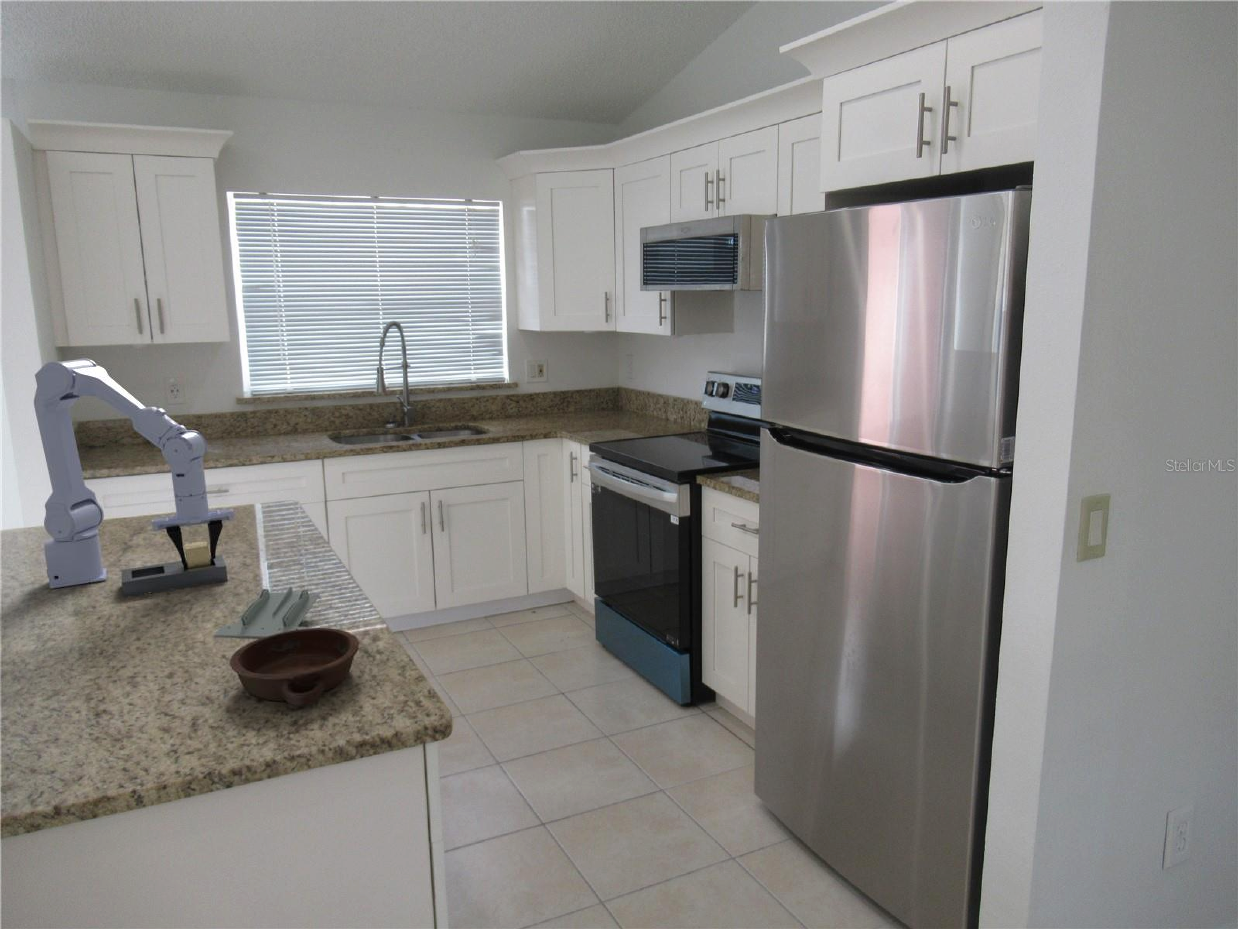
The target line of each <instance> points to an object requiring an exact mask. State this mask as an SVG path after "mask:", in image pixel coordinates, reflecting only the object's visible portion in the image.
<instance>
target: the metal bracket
mask: <svg viewBox="0 0 1238 929" xmlns="http://www.w3.org/2000/svg"><path fill="white" fill-rule="evenodd" d="M320 596H321V595H320V593H309V591H308V589H302V590H301V591H300V593H297V592H294V591H293V587H292V586H290V587H288V588H287V591H286V592H270V590H269V589H268V588H263V589H262V590H261V592H260V593H259V594H258V595H257V597H256V598H255V599H254V600H253V602H251V603H250V604H249V606H248V607H247V608H246V610H244V612H243V613H242V615H241V616H240V618H239V619H238V621H236V623H234V624H222V625H221V626H220V628H218V630H217V631H216V632H215V635H214V637H215V638H222V639H223V638H230V639H233V638H247V639H248V638H249V639H252V638H253V639H261V638H264V637H267V636H271V635H274V634H278V633H283V632H287V631H293V630H300V629H308V627H307V626H300V624H301V623H302V621H303V620H304V618H305V617H306V616H307V614H308V613H309V611H310V610H311V609H312V607H313V606H314V604H315V603H316V601H317V600H318V598H320Z"/></svg>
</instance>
